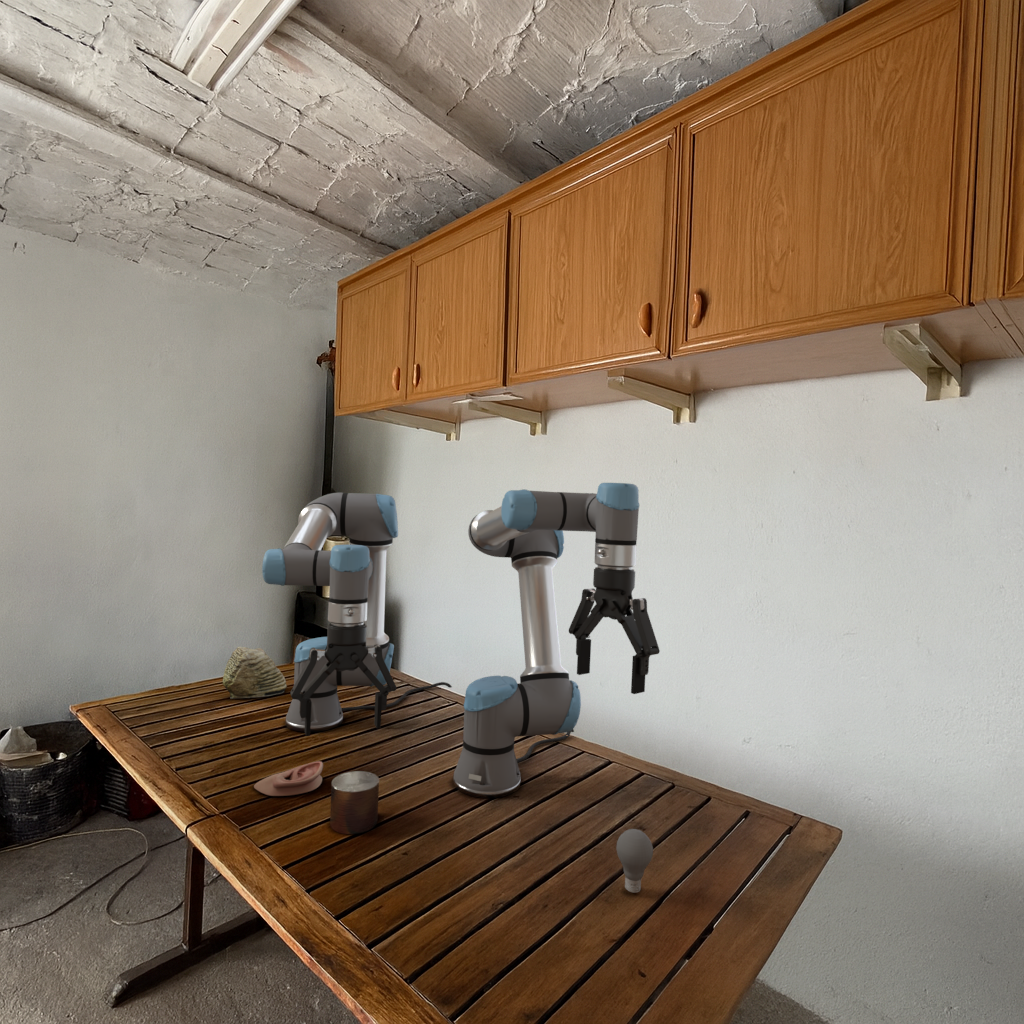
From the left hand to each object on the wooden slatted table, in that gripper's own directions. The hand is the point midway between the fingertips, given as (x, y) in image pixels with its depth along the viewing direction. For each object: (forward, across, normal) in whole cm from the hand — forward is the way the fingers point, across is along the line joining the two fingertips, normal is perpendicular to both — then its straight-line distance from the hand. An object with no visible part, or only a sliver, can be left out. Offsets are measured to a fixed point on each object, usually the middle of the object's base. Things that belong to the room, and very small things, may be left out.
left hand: (343, 730), depth 126 cm
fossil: (+17, -13, +85) cm, 88 cm away
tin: (+17, +2, -3) cm, 18 cm away
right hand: (-14, +43, -29) cm, 53 cm away
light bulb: (+18, +42, -40) cm, 61 cm away
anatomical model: (+17, -8, +17) cm, 26 cm away
